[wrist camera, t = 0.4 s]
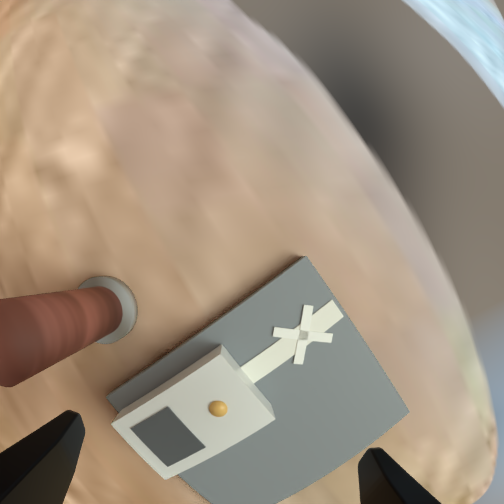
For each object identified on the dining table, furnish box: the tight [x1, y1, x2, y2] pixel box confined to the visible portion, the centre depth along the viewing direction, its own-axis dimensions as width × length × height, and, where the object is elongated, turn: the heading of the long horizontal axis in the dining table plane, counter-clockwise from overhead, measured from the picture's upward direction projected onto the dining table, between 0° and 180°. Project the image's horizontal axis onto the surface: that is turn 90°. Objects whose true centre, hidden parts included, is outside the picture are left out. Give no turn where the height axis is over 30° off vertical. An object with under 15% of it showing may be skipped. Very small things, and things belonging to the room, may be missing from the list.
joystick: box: [0, 276, 138, 387], centre depth 16 cm, size 5×5×14 cm
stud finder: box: [111, 344, 275, 480], centre depth 20 cm, size 10×6×3 cm, turn 126°
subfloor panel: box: [106, 256, 410, 504], centre depth 22 cm, size 19×17×1 cm
